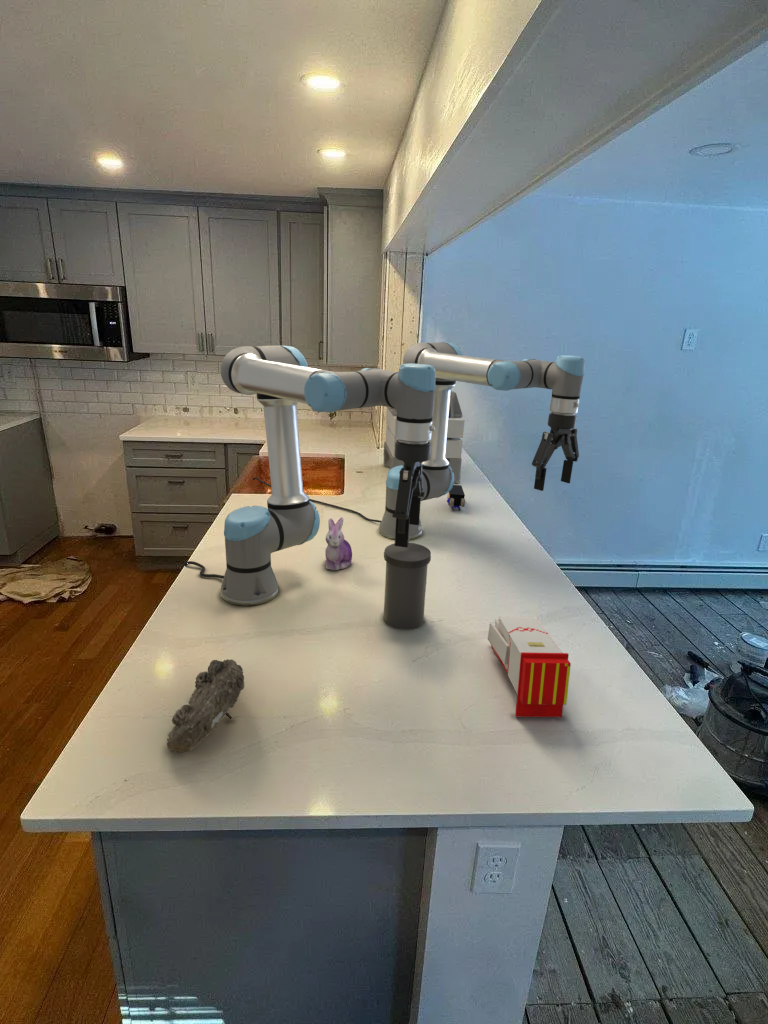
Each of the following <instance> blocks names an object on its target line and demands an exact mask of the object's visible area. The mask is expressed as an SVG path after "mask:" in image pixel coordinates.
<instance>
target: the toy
mask: <svg viewBox="0 0 768 1024" xmlns="http://www.w3.org/2000/svg"><path fill="white" fill-rule="evenodd" d="M488 625H489V627H488V633H487V641H488V642H489V644H490V646H491V647H490V648H491V649H492V650H493V652H494V654H495V656H496V658H497V659H498V660H499V662H500V664H501V666H502V668H503V669H504V671H505V673H506V674H507V676H508V678H509V680H510V682H511V685H512V686H513V689H514V690H515V693H516V704H515V717H516V718H517V717H518V718H519V717H520V718H521V717H522V718H563V710H564V705H567V701H568V692H569V685H570V684H569V683H570V676H571V675H570V674H571V666H572V664H571V661H570V660H569V655H570V654H569V653H568V652H563V651H562V649H561V648H560V647H559V646H558V644H557V643H556V642H555V640H554V639H553V638H552V636H551V635H550V634H549V632H548V631H547V629H546V628H545V627H544V626H543V624H542V622H541V621H540V620H539V619H538V618H537V616H498V618H496V619H494V623H493V622H489V624H488Z"/></svg>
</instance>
